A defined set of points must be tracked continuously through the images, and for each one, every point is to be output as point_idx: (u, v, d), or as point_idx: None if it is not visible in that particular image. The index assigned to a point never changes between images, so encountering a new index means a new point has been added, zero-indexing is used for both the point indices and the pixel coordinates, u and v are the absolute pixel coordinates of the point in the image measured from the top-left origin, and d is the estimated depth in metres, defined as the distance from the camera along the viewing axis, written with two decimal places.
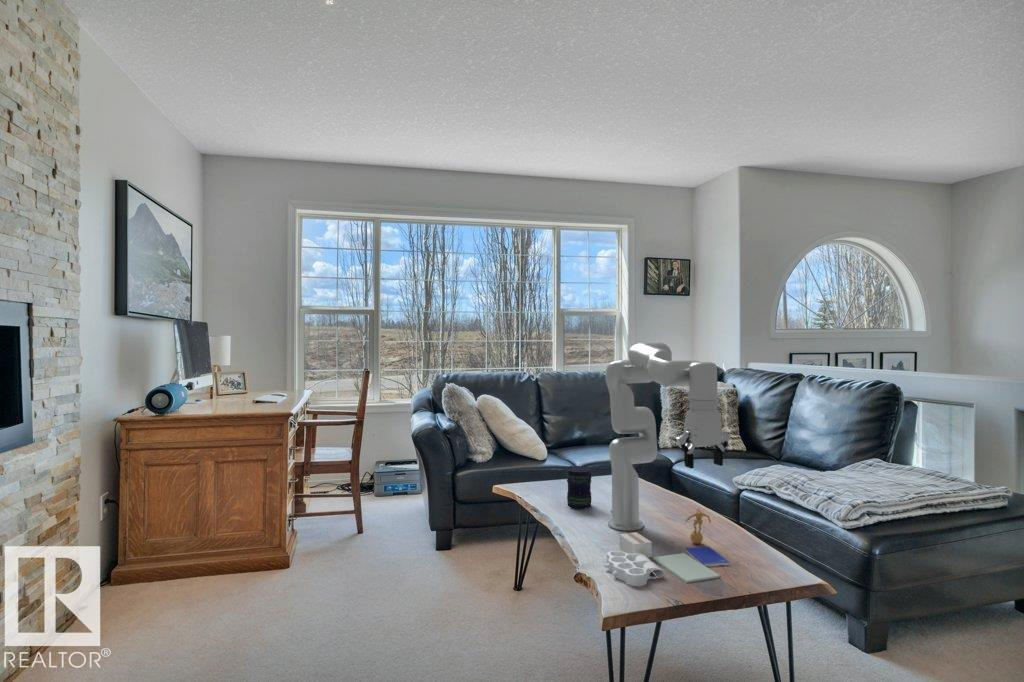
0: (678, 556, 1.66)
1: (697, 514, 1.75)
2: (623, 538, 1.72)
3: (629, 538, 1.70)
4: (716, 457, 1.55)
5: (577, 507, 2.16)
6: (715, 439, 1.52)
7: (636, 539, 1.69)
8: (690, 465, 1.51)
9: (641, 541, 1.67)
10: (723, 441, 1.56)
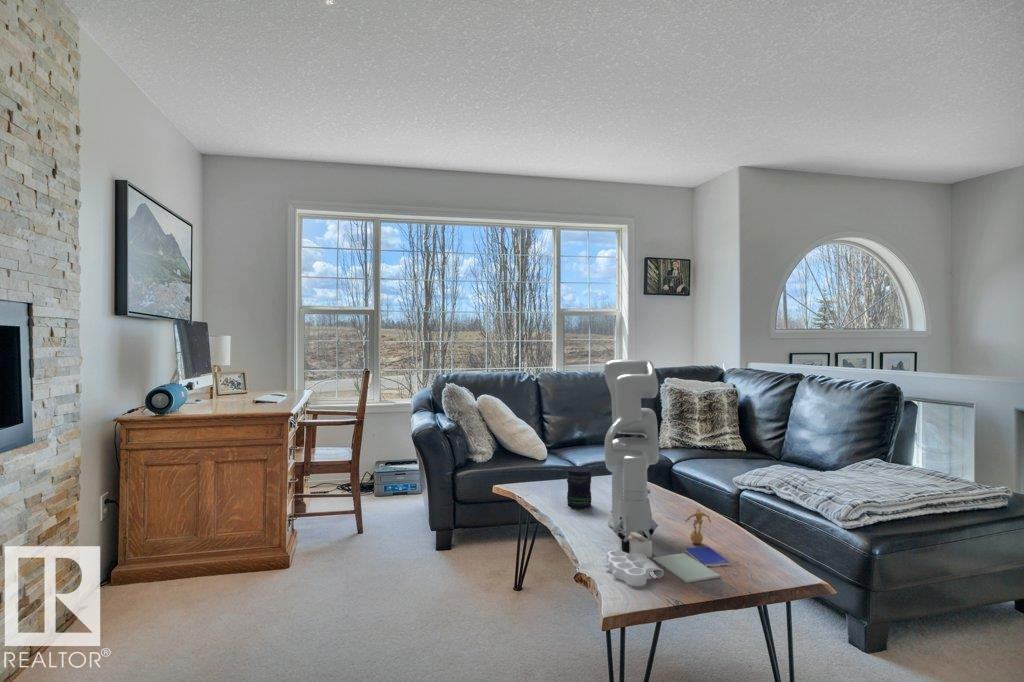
0: (678, 556, 1.66)
1: (697, 514, 1.75)
2: None
3: (629, 538, 1.70)
4: None
5: (577, 507, 2.16)
6: (645, 525, 1.69)
7: (636, 539, 1.69)
8: (626, 551, 1.69)
9: (642, 540, 1.68)
10: (650, 529, 1.72)
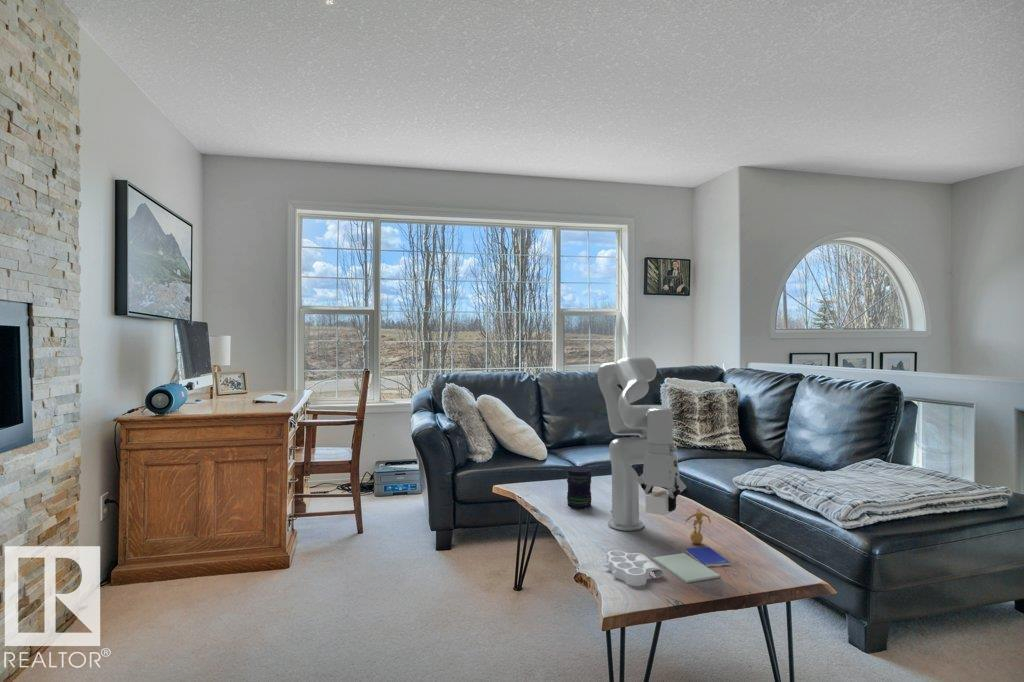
0: (678, 556, 1.66)
1: (697, 514, 1.75)
2: None
3: (654, 492, 1.65)
4: None
5: (577, 507, 2.16)
6: (664, 482, 1.61)
7: (657, 494, 1.63)
8: None
9: (656, 495, 1.61)
10: None
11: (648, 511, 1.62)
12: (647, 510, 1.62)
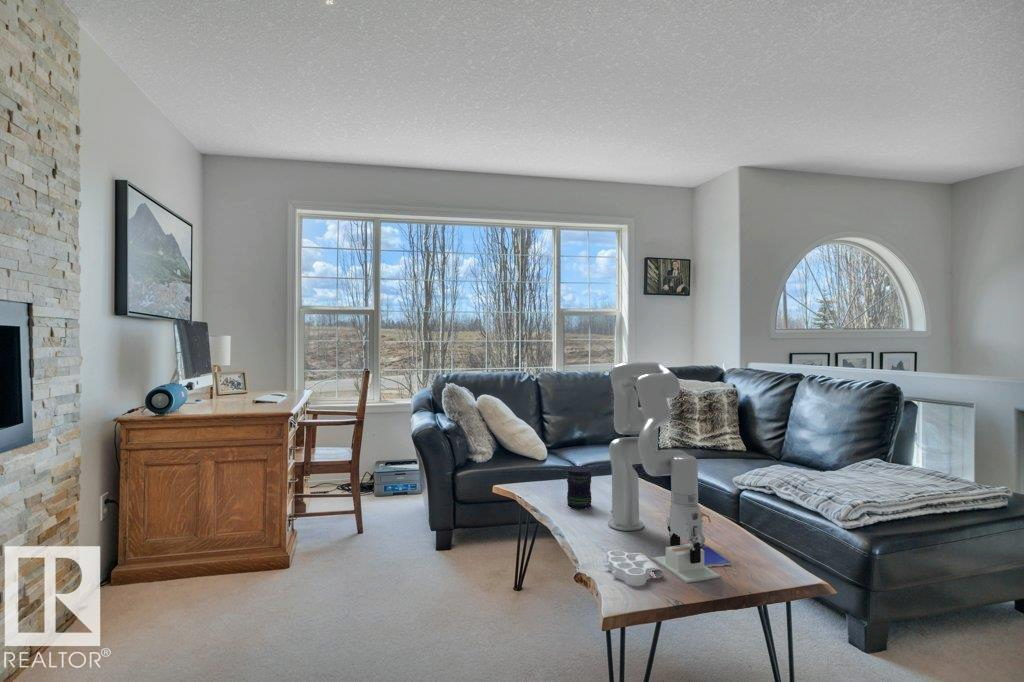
0: None
1: None
2: None
3: (680, 546, 1.61)
4: None
5: (577, 507, 2.16)
6: (683, 533, 1.56)
7: (679, 548, 1.59)
8: None
9: (675, 550, 1.58)
10: None
11: (667, 564, 1.60)
12: (667, 562, 1.60)
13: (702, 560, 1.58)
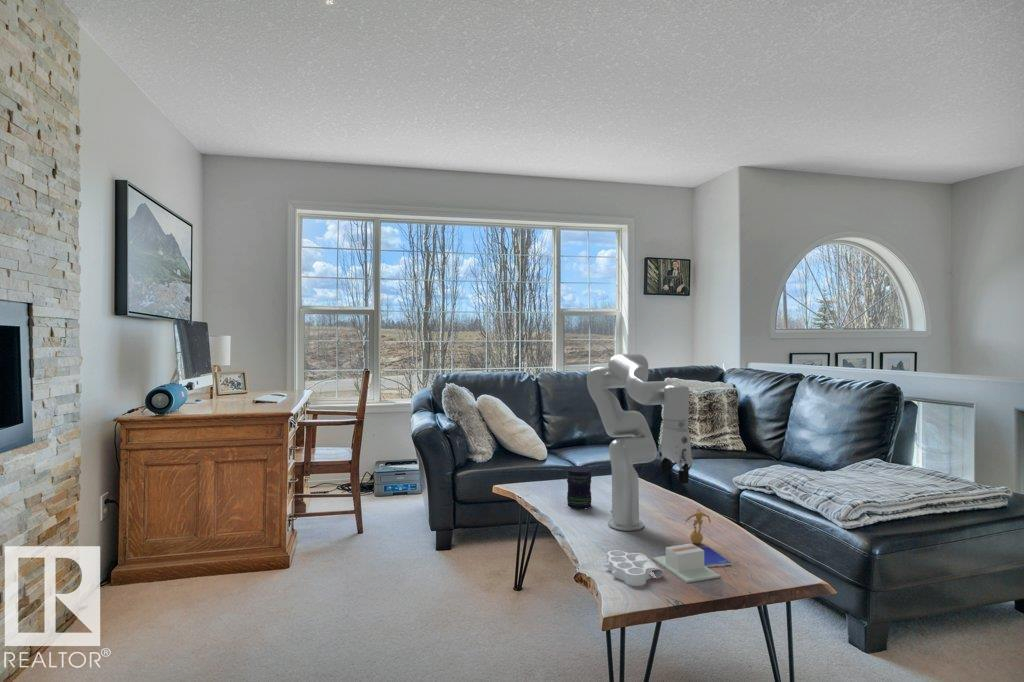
0: None
1: (697, 514, 1.75)
2: None
3: (680, 546, 1.61)
4: None
5: (577, 507, 2.16)
6: (672, 456, 1.67)
7: (679, 548, 1.59)
8: None
9: (675, 550, 1.58)
10: None
11: (667, 564, 1.60)
12: (667, 562, 1.60)
13: (702, 560, 1.58)
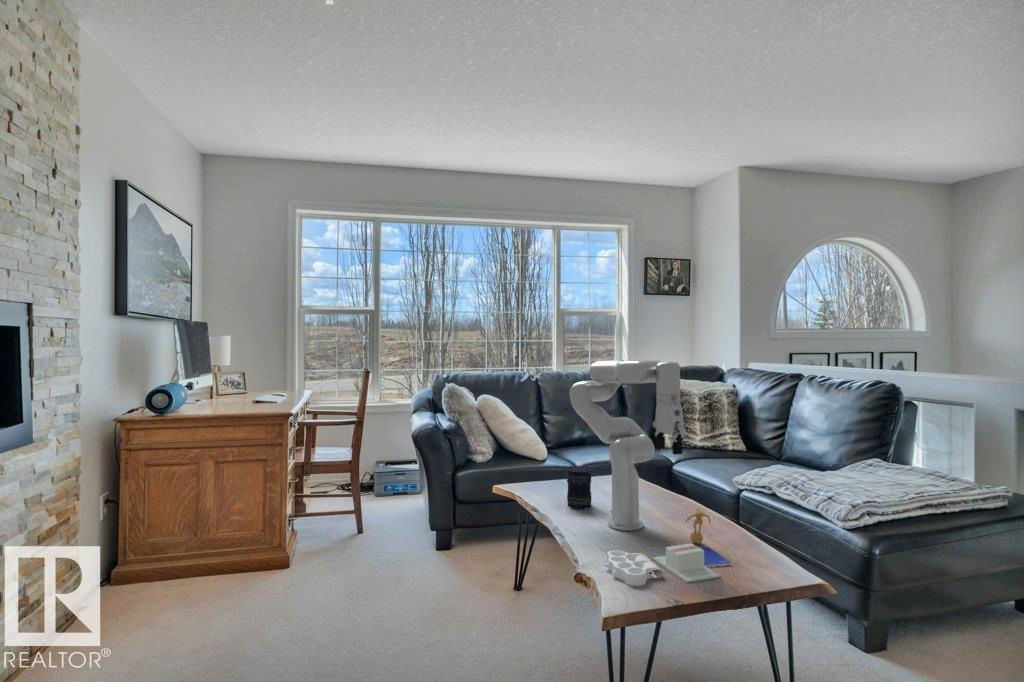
0: None
1: (697, 514, 1.75)
2: None
3: (680, 546, 1.61)
4: None
5: (577, 507, 2.16)
6: (666, 429, 1.76)
7: (679, 548, 1.59)
8: None
9: (675, 550, 1.58)
10: None
11: (667, 564, 1.60)
12: (667, 562, 1.60)
13: (702, 560, 1.58)
